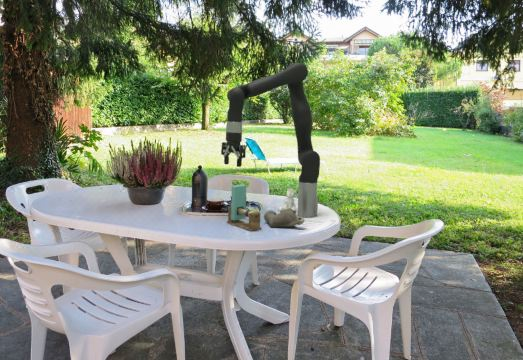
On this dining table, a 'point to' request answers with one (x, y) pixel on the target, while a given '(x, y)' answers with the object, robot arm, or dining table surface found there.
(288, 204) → the seated beast figurine
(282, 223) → the pipe
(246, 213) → the wooden dowel plank
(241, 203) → the teal flat board
